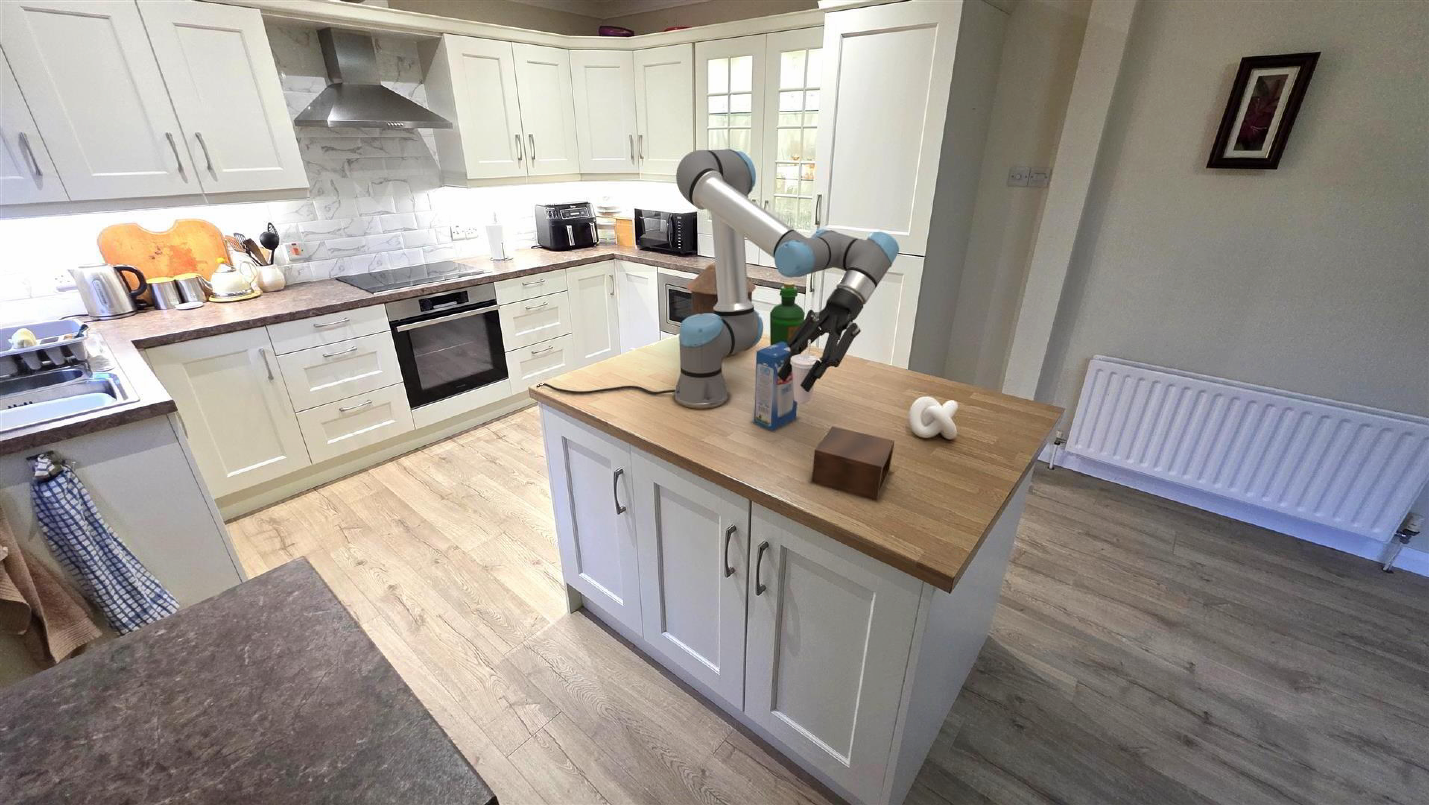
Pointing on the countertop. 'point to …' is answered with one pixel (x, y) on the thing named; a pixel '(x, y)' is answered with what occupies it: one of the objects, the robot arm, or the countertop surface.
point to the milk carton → (773, 389)
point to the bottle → (785, 315)
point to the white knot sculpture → (933, 418)
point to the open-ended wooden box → (852, 462)
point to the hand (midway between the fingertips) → (792, 383)
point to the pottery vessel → (708, 291)
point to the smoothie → (802, 374)
